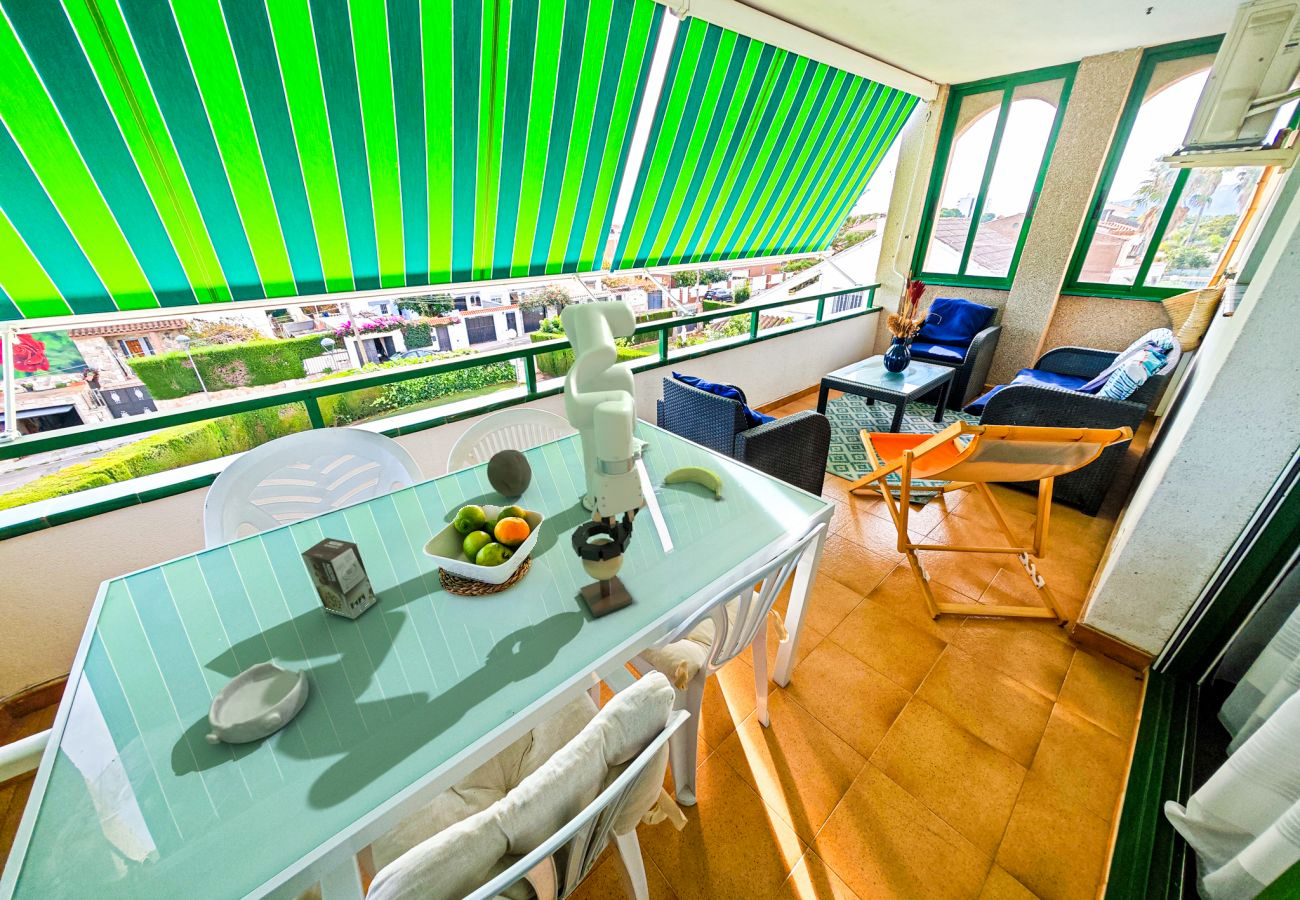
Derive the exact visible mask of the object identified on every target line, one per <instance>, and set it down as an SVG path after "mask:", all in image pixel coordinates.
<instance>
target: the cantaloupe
mask: <svg viewBox="0 0 1300 900" xmlns="http://www.w3.org/2000/svg"><path fill="white" fill-rule="evenodd" d="M532 474H533V473H532V467H531V465H530V463H529V461H528V458H527V457H526V455H525V454H524V453H523V452H521V451H519V450H517V449H503V450H500V451H499V452H496V453H495V454H493V455H492V457H491V458H490V459H489V461H488V463H487V468H486V475H487V479H488V482H489V484H490V486H491V487H492V489H493V490H494V491H495V492H497V494H499V495H501V496H503V497H506V496H507V498H514V497H518V496H522V495H523V494H525V493H526V492H527V490H528V488H529V486H530V484H531V481H532Z"/></svg>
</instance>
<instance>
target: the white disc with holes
mask: <svg viewBox="0 0 1300 900" xmlns="http://www.w3.org/2000/svg"><path fill="white" fill-rule="evenodd" d="M650 446H651V445H650V443H649V442H647V441H644V440H641V439H640V438H637V437H635V436H633V447H634V451H635V452H637V451H638V452H639V454H640V457H638V458H637V459H639V458H641V457H642V453H643V452H644V451H647V450H648V449H649V448H650Z"/></svg>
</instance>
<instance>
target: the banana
mask: <svg viewBox="0 0 1300 900" xmlns="http://www.w3.org/2000/svg"><path fill="white" fill-rule="evenodd" d="M663 480H664V482H665V483H664V484H675V483H682V482H690V483H691V482H692V483H698V484H701V485H703V486H705V487H707V488H708V489H709V490H711V491H714V492H716V497H715V498H716V499H717V500H722V499H723V497H722V494H721V490H722V489H723V480H722V478H721V476H720V475H719V474H718V473H716V472H715V471H713V470H711V469H709V468H706V467H702V466H696V465H693V466H692V465H690V466H683V467H679V468H677V469H674V470H673V471H670V473H668V474H667V475H666V476H665V478H664V479H663Z"/></svg>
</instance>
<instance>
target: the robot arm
mask: <svg viewBox="0 0 1300 900" xmlns="http://www.w3.org/2000/svg"><path fill="white" fill-rule="evenodd" d="M560 321H561V325H562V328H563V329H562V330H563V331H564V334H565V336H566V338H567V340H568V342H569V344H570V346H571V348H572V351H573V354H574V360H575V361H574V362H573V363H572V365H571V366H570V368H569V369H568V371H567V373H566V376H565V379H564V384H563V394H564V403H565V411H566V417H567V421H568V423H569V425H570V426H571V427H572V428H573V429H575V430H578V434H579V437H580V442H581V447H582V455H583V464H584V475H585V485H586V495H585V496H584V497H583V499H582V504H583V507H584V508H585V509H586V510H588V511H591V514H590V519H591V521H595V522H603V523H605V524H606V525H608V533H609V535H608V537H609V539H611V540H613V541H614V539H615V538H616V536H617V535H618V527H617V525H616V523H615V520H616V515H619V514H623V516H622V518H621V520H622V521H621V522H622V523H623V525H624V526H625V527H626V528H627V529H628V530H629V534H630V539H632V538H633V534H632V533H633V531H634V529H633V522H634V521H635V517H636V516H637V514H638V513H639V512H640V510H642V509H644V507H646V506H647V502H646V500H645V498H644V495H643V486H642V484H643V483H642V479H641V475H640V470H639V468H638V465H637V464H636V460H637V459H639V458H641V457H640V454H639V452H638V451H637V452H635V451H634V447H633V437H634V434H635V432H636V431H637V429H638V409H637V408H638V407H637V397H636V384H635V377H634V374H633V371H632V370H631V368H630V367H629V366H627V365H624V364H623V365H622V364H619V365H615V363H616V362H617V359H618V351H617V347H616V342H615V338H625V337H631V336H633V335H634V334H635V331H636V328H637V319H636V314H635V311H634V308H633V306H632V305H631V303H630V302H629V301H627V300H607V301H606V300H605V301H604V300H603V301H590V302H586V303H584V302H583V303H576V304H570V305H567V306H566V307H564V308H562V310H561V312H560ZM578 392H579V393H578ZM638 457H639V458H638Z"/></svg>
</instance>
